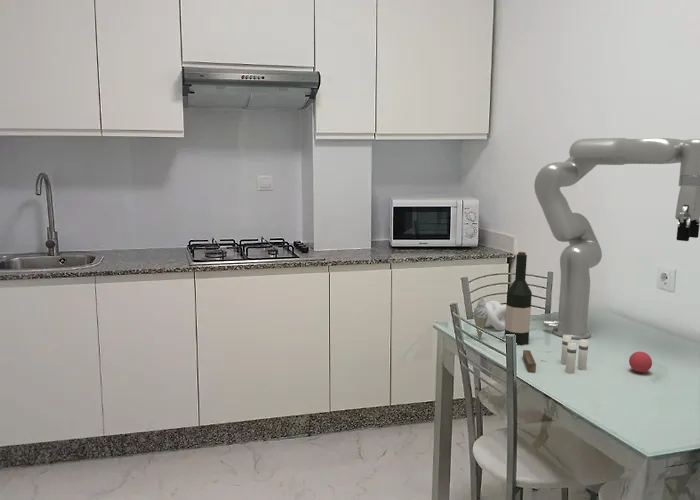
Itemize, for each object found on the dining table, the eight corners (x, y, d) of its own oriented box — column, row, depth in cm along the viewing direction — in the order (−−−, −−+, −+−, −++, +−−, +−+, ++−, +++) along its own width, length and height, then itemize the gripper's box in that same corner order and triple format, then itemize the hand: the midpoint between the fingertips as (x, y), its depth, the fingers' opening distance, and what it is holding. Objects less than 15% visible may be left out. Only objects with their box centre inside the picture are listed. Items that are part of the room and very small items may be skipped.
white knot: (505, 322, 222) (506, 298, 220) (518, 332, 210) (520, 307, 208) (476, 323, 220) (477, 299, 219) (487, 333, 209) (489, 308, 207)
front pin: (578, 369, 175) (580, 341, 174) (576, 366, 177) (578, 338, 176) (587, 370, 175) (589, 342, 173) (585, 367, 177) (587, 339, 176)
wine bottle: (500, 337, 204) (505, 250, 198) (523, 337, 204) (529, 250, 199) (508, 345, 195) (513, 254, 190) (533, 345, 196) (539, 254, 191)
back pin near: (566, 373, 172) (568, 344, 171) (564, 369, 175) (566, 341, 173) (575, 373, 172) (577, 345, 170) (573, 370, 174) (575, 342, 173)
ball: (631, 375, 171) (633, 354, 170) (625, 367, 177) (627, 347, 176) (654, 376, 170) (656, 356, 169) (647, 368, 176) (649, 349, 175)
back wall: (528, 372, 172) (528, 363, 172) (522, 357, 184) (523, 350, 184) (535, 372, 172) (536, 364, 172) (529, 358, 184) (530, 350, 183)
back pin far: (561, 364, 179) (563, 337, 178) (560, 361, 181) (562, 334, 180) (570, 364, 179) (572, 337, 177) (568, 362, 181) (570, 334, 180)
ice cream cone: (488, 337, 203) (490, 294, 200) (486, 342, 198) (488, 298, 196) (473, 336, 205) (475, 293, 202) (470, 340, 200) (473, 296, 197)
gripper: (687, 180, 186) (682, 234, 189) (670, 182, 174) (664, 240, 177) (715, 181, 181) (709, 237, 184) (699, 183, 169) (693, 243, 172)
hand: (687, 238), depth 180 cm, fingers open, 9 cm apart
